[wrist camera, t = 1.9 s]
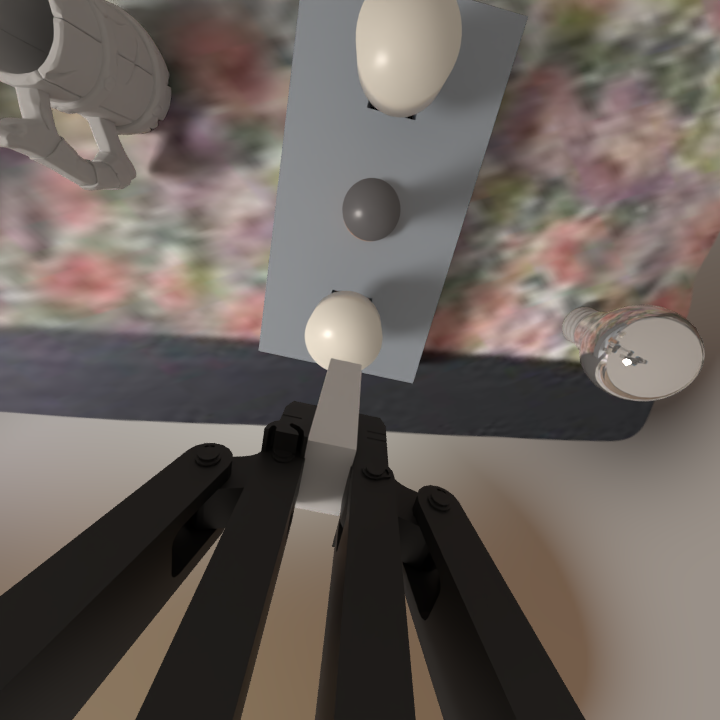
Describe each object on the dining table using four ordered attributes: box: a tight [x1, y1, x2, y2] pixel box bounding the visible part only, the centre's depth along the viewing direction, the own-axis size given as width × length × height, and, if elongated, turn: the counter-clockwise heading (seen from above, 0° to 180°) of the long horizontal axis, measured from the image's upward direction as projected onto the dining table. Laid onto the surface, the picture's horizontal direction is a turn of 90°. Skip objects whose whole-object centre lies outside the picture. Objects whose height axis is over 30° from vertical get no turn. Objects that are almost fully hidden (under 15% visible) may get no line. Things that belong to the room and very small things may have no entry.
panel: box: [259, 0, 528, 383], centre depth 28 cm, size 14×26×4 cm, turn 167°
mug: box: [0, 0, 171, 190], centre depth 21 cm, size 8×12×12 cm, turn 176°
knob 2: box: [356, 0, 462, 117], centre depth 20 cm, size 5×5×7 cm
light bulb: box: [562, 305, 704, 401], centre depth 27 cm, size 7×7×12 cm
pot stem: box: [342, 178, 401, 241], centre depth 22 cm, size 4×4×7 cm
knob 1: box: [305, 291, 383, 370], centre depth 26 cm, size 5×5×7 cm
